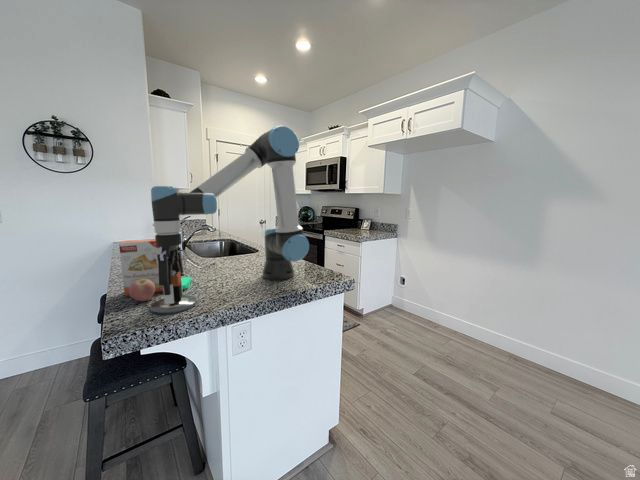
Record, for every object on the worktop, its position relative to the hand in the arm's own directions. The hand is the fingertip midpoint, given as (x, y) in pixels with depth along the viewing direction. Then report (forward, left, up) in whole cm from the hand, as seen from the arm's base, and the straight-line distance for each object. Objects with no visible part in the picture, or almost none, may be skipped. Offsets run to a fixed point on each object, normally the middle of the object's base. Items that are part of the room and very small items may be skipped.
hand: (174, 298), depth 91 cm
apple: (+13, -7, -3) cm, 15 cm away
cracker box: (+16, -17, -3) cm, 24 cm away
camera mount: (+6, -21, -3) cm, 22 cm away
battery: (0, 0, -1) cm, 1 cm away
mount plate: (0, 0, -3) cm, 3 cm away
